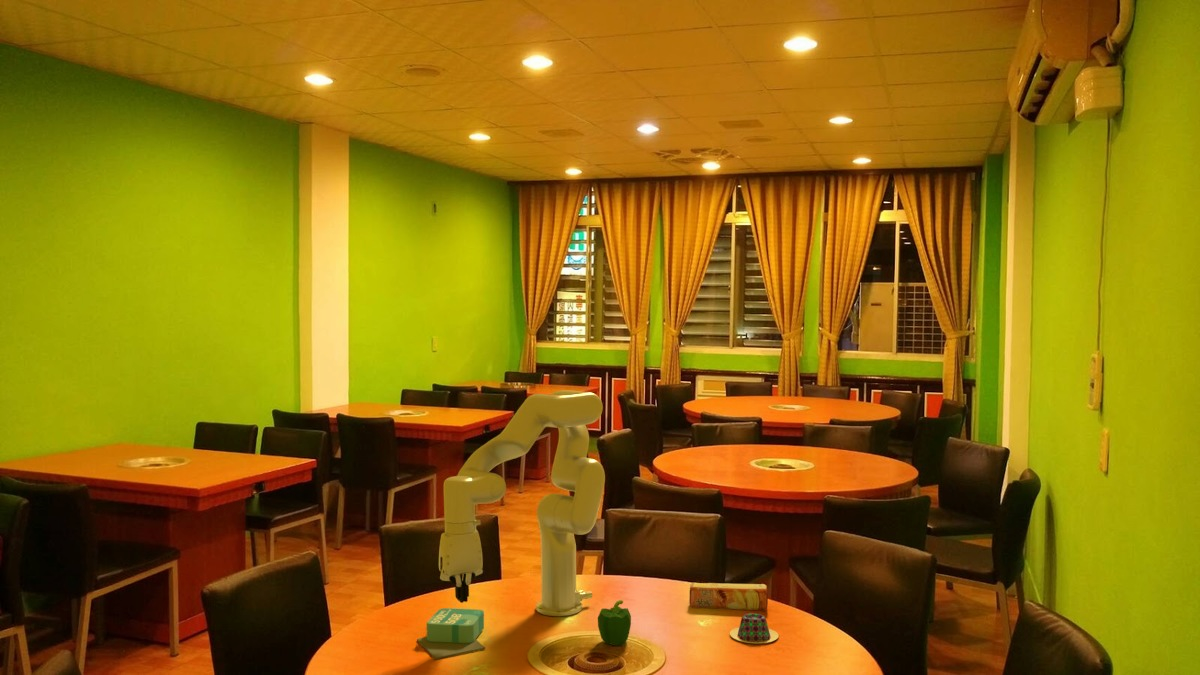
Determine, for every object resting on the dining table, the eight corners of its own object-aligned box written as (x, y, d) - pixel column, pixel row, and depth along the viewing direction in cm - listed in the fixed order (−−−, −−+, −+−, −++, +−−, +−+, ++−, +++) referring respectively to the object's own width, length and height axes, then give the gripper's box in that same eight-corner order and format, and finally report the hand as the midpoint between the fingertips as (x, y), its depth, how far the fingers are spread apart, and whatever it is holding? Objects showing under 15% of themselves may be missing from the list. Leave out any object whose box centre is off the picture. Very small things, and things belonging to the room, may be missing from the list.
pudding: (774, 628, 229) (774, 608, 229) (782, 646, 217) (782, 625, 217) (727, 628, 230) (727, 608, 229) (732, 646, 218) (732, 624, 217)
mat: (464, 631, 228) (464, 629, 228) (485, 649, 216) (485, 647, 216) (417, 640, 222) (417, 638, 222) (435, 659, 210) (435, 657, 210)
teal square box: (471, 625, 218) (424, 623, 220) (472, 644, 218) (424, 641, 220) (485, 609, 230) (440, 607, 232) (485, 626, 230) (440, 624, 232)
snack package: (688, 609, 244) (688, 585, 244) (691, 601, 251) (691, 578, 251) (767, 614, 240) (767, 589, 240) (768, 606, 247) (768, 581, 246)
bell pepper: (608, 651, 214) (608, 609, 214) (592, 640, 222) (592, 600, 221) (638, 644, 218) (638, 604, 218) (622, 634, 225) (622, 595, 225)
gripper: (482, 519, 227) (484, 591, 227) (425, 528, 219) (428, 601, 220) (494, 526, 220) (496, 599, 221) (435, 535, 213) (438, 610, 213)
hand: (462, 600), depth 220 cm, fingers closed
